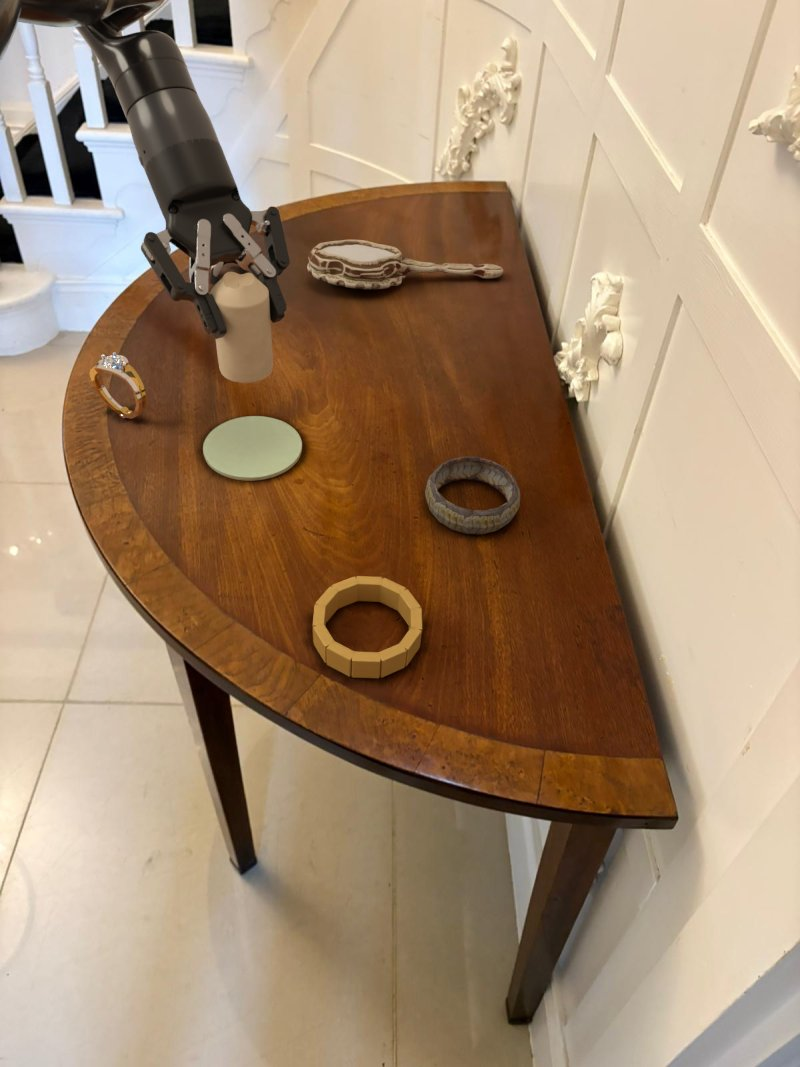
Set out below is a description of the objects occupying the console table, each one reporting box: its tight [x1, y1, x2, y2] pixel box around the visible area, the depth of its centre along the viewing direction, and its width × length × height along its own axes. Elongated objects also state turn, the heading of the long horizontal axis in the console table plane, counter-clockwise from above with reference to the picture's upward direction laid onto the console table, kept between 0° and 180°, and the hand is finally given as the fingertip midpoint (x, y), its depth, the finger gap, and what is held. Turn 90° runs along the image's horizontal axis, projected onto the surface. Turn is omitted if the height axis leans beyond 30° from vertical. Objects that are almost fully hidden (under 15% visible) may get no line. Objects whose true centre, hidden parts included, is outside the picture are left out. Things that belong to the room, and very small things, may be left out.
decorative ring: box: [424, 456, 521, 535], centre depth 83 cm, size 10×3×10 cm
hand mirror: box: [306, 239, 504, 290], centre depth 117 cm, size 11×6×30 cm
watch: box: [209, 261, 246, 286], centre depth 115 cm, size 8×5×4 cm, turn 164°
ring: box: [88, 351, 147, 420], centre depth 89 cm, size 7×3×8 cm, turn 57°
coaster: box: [202, 415, 303, 482], centre depth 89 cm, size 11×11×1 cm
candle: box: [209, 271, 274, 384], centre depth 77 cm, size 6×6×10 cm
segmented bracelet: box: [312, 575, 423, 679], centre depth 70 cm, size 10×10×2 cm
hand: (250, 327), depth 76 cm, fingers closed on candle, 5 cm apart
